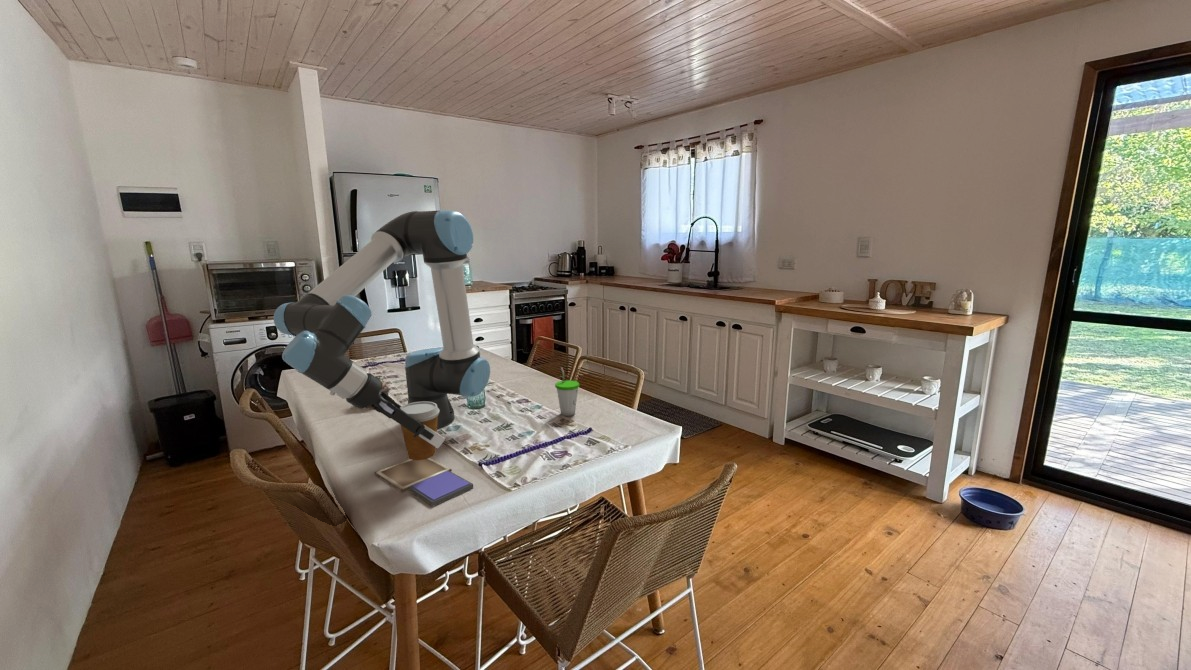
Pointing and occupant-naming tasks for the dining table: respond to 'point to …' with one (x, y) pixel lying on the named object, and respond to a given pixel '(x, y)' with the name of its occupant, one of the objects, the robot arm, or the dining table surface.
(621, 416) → the dining table surface
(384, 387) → the cupcake
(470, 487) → the ink pad
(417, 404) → the disposable coffee cup
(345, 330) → the robot arm
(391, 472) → the brown square tray
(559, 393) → the cup
